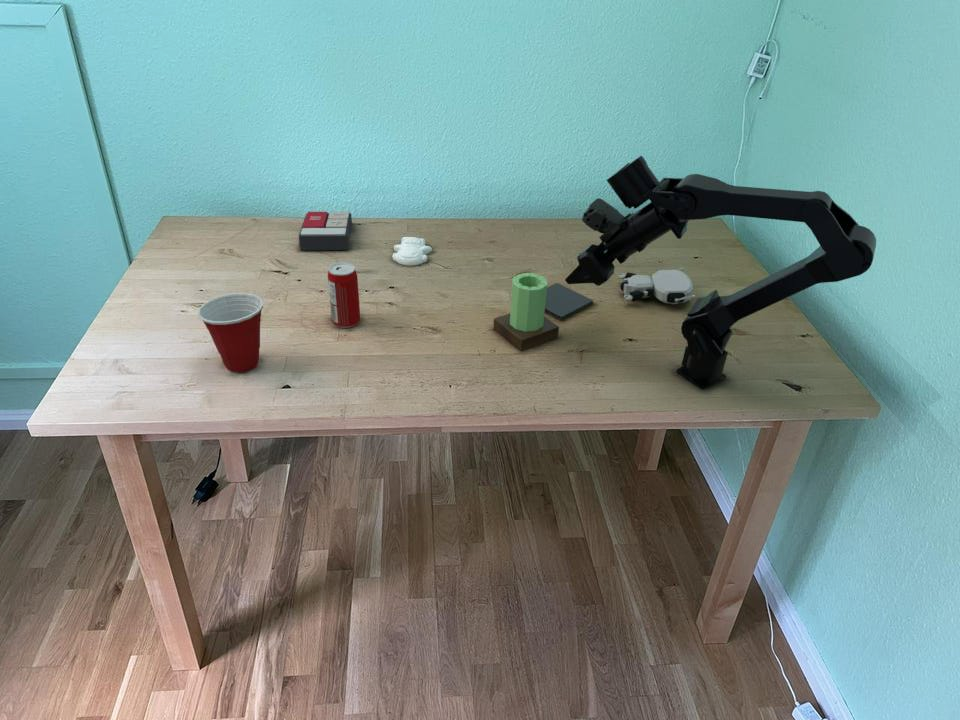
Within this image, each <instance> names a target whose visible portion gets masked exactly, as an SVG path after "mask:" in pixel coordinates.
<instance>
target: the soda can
mask: <svg viewBox="0 0 960 720" xmlns="http://www.w3.org/2000/svg"><path fill="white" fill-rule="evenodd" d="M327 283H328V294H329V304H330V313H331V314H330V315H331V322H332V323H333V325H335V326H336V327H337V328H340V329H341V328H342V329H348V328H353V327H355V326H357V324H359V323H360V322H361V309H360V307H361V306H360V292H359V280H358V273H357V271H356V267H355V265H354V264H352V263H351V262H345V261H342V262H335V263H333V264H330V265H329V267H328V271H327Z"/></svg>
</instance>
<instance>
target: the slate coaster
mask: <svg viewBox="0 0 960 720" xmlns="http://www.w3.org/2000/svg"><path fill="white" fill-rule="evenodd" d="M592 305H594V300H593V299H591V298H589V297H587V296H585V295H583V294H581V293H580V292H579V293H578V292H577V291H575V290H573V289H571V288H569V287H567V286H564V285H562V284H560V283H558V282H556V283H553V284H551V285H550V286H547V292H546V302H545V312H544V313H545V314H548V315H550V316H552V317H553V318H555V319H557V320H559V321H561V322H563V321H564V320H566V319H568V318H571V316H574V315H575V314H578V313H579V312H581V311H583V310H585V309H587V308H589V307H591V306H592Z"/></svg>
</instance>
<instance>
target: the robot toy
mask: <svg viewBox="0 0 960 720" xmlns="http://www.w3.org/2000/svg"><path fill="white" fill-rule="evenodd" d="M684 270H685V267H681V268H678V269H659V270H658V271H656V272H654V273H653V274H652V276H649V275H644V274H637V273H633V272H626V273H625V272H621V273H619V274H618V276H617V277H618V279H620V280H623V281H622V282H621V284H620V285H619V288H620V291H621V292H622V293H623V294H624V295H623V300H625V301H627V302H638V301H641V300H642V299H644V298H645V299H646V298H650V297H653V296H654V298H656V299H658V301H660V302H662V303H664V304H670V305H677V304H684V303H686V302H688V301H689V300H690V299H694V298H696V294H693V287H694V285H693V281H692V280H691V278H690V277H689V275H687V274H686V273H685V272H683V271H684Z"/></svg>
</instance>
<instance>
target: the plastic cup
mask: <svg viewBox="0 0 960 720" xmlns="http://www.w3.org/2000/svg"><path fill="white" fill-rule="evenodd" d="M263 308H264V300H263V298H261V297H260V296H259V295H257V294H253V293H249V292H235V293H227V294H223V295H220V296H219V295H218V296H216V297H213V298H211V299H209V300H208V301H205V302H204V303H202V304H201V306H199V308H198V309H197V317H198V318H199V319H200V320H201V321H202V322H203V324H204V325H205V327H206V329H207V331H208V333H209V335H210V337H211V340H212V342H213V344H214V346H215V348H216V350H217V353H218V354H219V356H220V358H221V361H222V364H223V365H224V367H225V368H226V369H227V371H229V372H232V373H240V374H241V373H246V372H250V371H252V370H253V369H255V368H257V366H258V365H259V364H260V363H259V361H260V348H261V321H262V310H263Z"/></svg>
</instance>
